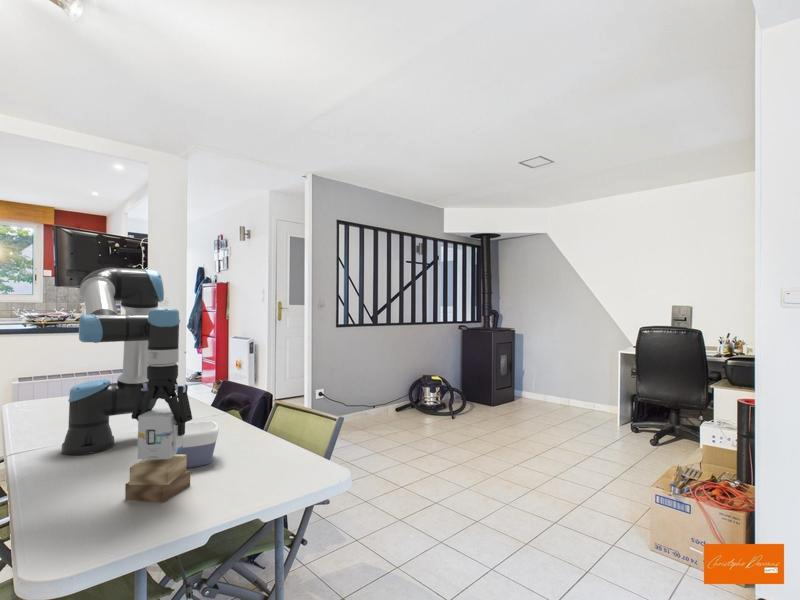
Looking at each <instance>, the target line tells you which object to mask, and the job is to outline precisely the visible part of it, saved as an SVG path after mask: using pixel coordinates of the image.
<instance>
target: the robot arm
mask: <svg viewBox="0 0 800 600" xmlns="http://www.w3.org/2000/svg"><path fill="white" fill-rule="evenodd" d="M164 289H165V288H164V282H163V279H162V275H161V273H160V272H159V271H158V270H154V269H148V268H131V267H130V268H127V267H124V268H122V267H105V268H100V269H97V270H95V271H92V272H91V273H89V274H88V275H86V276H85V277H84V278H83V279H82V281H81V282H80V284H79V294H80V297H81V298H82V299H83V301H84V307H85V314H83V315H80V317H79V318H78V340H79V341H80V342H82V343H94V344H99V343H113V342H116V343H117V342H123V357H122V358H123V360H122V373H121V374H120V375H118V377H117V382H112V383H111V380H110V379H97V380H96V379H95V380H92V381H91V380H90V381H85V382H82V383H79V384H76V385H73V386H72V387H71V388H70V389H69V397H68V402H69V405H68V430H67V432H66V434H65V436H64V437H65V438H64V440H63V443H62V444H61V454H63V455H66V456H69V455H70V456H80V455H88V454H93V453H98V452H102V451H106V450H108V449H110V448H112V447H114V445H115V436H114V435H113V431H112V428H111V426H110V417H112V416H120V415H128V414H129V415H130V414H131V419H132V420H137V422H138V416H140V415H142V414H144V413H146V412H148V411H150V410H152V409H155V408H154V407H155V406H156V403H157V400H159V399H160V400H164V402H165V403H167V405H168V408H170V410H171V412H172V414H174V418H175V421H176V424H174V434H173V449H177V448H179V447H181V446H182V445H183V435H184V434H185V423H188V422H190V421H192V420H193V415H192V409H191V405H190V401H189V396H188V390H189V389H188V385H187V384H178V382H177V379H178V377H179V365H178V363H179V354H180V353H179V349H180V348H179V347H180V346H179V343H180V342H179V341H180V340H179V338H180V323H181V319H180V312H179V310H178V309H177V308H161V307H160V308H159V303H162V302H163V301H164V297H165V291H164ZM116 302H120V307H122V308H123V309H124V310H125V314H119V313H118V309H117V305H116Z"/></svg>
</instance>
